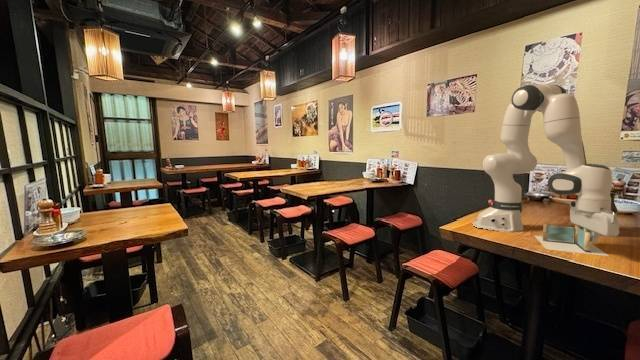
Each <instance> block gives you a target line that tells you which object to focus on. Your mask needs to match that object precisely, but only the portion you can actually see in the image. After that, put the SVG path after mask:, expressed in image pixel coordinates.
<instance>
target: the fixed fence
mask: <svg viewBox="0 0 640 360" xmlns="http://www.w3.org/2000/svg"><path fill="white" fill-rule="evenodd" d="M578 229H582V230H584V227H581V226H579V225H576V224H574V227H572V226H563V225H562V226H561V225H560V226H557V225H549V223H546V222H545V223H543V230H542V232H543V233H542V236H543V241H548V240H557V241H568V242H573V240H574V244H577V245H579V244H578V243H577V240H578Z"/></svg>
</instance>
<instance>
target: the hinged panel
mask: <svg viewBox="0 0 640 360" xmlns="http://www.w3.org/2000/svg"><path fill="white" fill-rule="evenodd" d="M590 237H591V233H590V232H585V231H584V229H583V230H582V229H578V240H577V243H578V244H579V245H580V246H581V247H582V248H583V249H584V250H590V243H591V241H590Z"/></svg>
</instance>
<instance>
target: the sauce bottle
mask: <svg viewBox="0 0 640 360" xmlns="http://www.w3.org/2000/svg"><path fill="white" fill-rule="evenodd" d="M610 196H611V211H613V213H614V214H615V215H616V217H617V218H618V215H619V214H618V213H619V211H618V208H617V206H616V204H615V199H614V198H615V197H616V192H615V193H613V192H610ZM614 196H615V197H614ZM618 219H619V218H618ZM600 236H603V235H602V234H601V235H600Z"/></svg>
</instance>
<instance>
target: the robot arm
mask: <svg viewBox="0 0 640 360" xmlns="http://www.w3.org/2000/svg"><path fill="white" fill-rule="evenodd" d="M536 112H541V113H542V118H543V120H542V121H543V131H544V134H545V136H546V139H547V140H548V141H550V142H552V143H553V144H555V145H557V147H559V149H561V150H562V152H563V156H564V162H565V167H566V170H565V171H560V172H557V173H554V174H552V175H550V177H549V178H548V180H547V187H548V189H549V191H550V192H552V193H553V194H556V195H560V196H569V195H570V196H571V195H576V196H577V199H576V200H572V201H569V207H570V210H569V219H570V222H571V224H574V225H579V226H581V227H583V230H584V231H585V232H590V233H591V237H590V242H592V243H598V242H599V238H600V237H601V236H605V237H618V236H619V234H620V225H619V218H617V217H618V216H617V217H616V215H615V214H614V213H613V211H611V196H610V191H612V190H613V176H612V175H613V174H612V169H611V168H610V167H608V166H606V165H603V164H597V163H596V164H595V163H587V157H586V152H585V151H586V150H585V146H584V143H583V136H582V128H581V116H580V108H579V104H578V101H577V98H576V97H575V96H574V95H573V94H571V93H567V91H566V89H565V88H564V87H562V85H561V86H560V85H558V84H550V83H549V84H548V83H541V84H527V85H523V86H520V87H519V88H517V89H516V90H515V91H514V92H513V94H512V96H511V103H510V104H508V106H507V107H506V110H505V113H504V114H503V115H504V116H503V120H502V124H501V129H500V138H499V139H500V142H501V143H502V144H503V145H505V146H506V149H507V150H506V151H507V152H496V153H492V154H488V155H486V156H485V157H484V158H483V160H482V165H481V166H482V168H483V171H484V172H485V173H486V174H488V175H489V176H490V178H491V180H492V182H493V184H494V200H492V199H489V200H487V201H488V204H489V207H488V208H486V209H484V210H482V211H480V212H479V213H478V215H477V218H476V220H473V221H472V222H471V223H472V224H473V225H472V224H471V225H472V227H473V226H475V227H477V228H476V229H478V228H483V229H482V230H486V229H488V230H487V231H493V230H494V231H496V232H504V233H514V232H523V231H525V228H524V225H523V220H522V213H523V202H522V193H523V192H522V190H523V188H522V186H521V185H520V183H518V182H516V181H515V179H514V176H513V175H522V174H527V173H531V172H533V171H535V169H536V167H537V165H538V160H537V157H536V156H535V155H534V154H533V153H532V152H531V150H530V147H529V136H530V129H531V123H532V119H533V118H532V117H533V116H534V114H535V113H536ZM475 227H474V228H475ZM494 231H493V232H494ZM601 234H602V235H601Z"/></svg>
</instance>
